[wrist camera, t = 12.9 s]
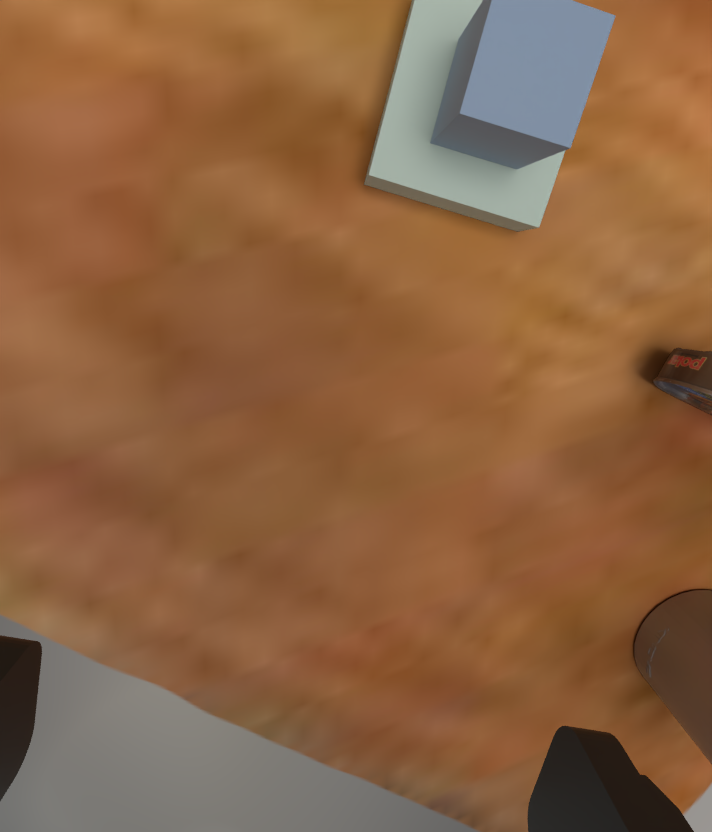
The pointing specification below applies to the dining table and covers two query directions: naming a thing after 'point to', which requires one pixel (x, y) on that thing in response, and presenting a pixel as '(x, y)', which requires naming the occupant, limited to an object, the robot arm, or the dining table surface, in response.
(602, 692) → the dining table surface
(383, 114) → the sage tile
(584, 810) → the robot arm
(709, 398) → the tin
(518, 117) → the slate block
